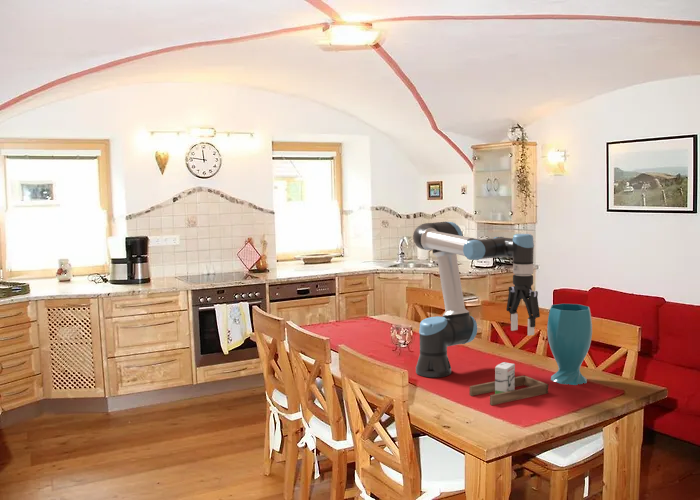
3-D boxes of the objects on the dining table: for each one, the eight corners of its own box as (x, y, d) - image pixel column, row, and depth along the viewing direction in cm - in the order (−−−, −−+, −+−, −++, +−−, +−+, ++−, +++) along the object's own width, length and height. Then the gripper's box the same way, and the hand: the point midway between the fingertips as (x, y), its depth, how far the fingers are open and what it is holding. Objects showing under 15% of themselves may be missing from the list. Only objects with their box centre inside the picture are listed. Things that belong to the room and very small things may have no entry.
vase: (567, 388, 260) (568, 313, 256) (537, 376, 275) (538, 305, 272) (600, 382, 267) (602, 308, 263) (570, 370, 282) (571, 301, 279)
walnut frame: (469, 395, 254) (469, 386, 254) (524, 383, 267) (524, 375, 266) (491, 405, 242) (491, 396, 242) (548, 393, 255) (548, 384, 254)
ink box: (506, 399, 249) (506, 368, 247) (494, 397, 252) (494, 366, 250) (515, 393, 256) (515, 363, 254) (502, 390, 259) (503, 361, 257)
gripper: (496, 271, 260) (496, 328, 263) (535, 279, 241) (534, 339, 244) (511, 270, 263) (511, 326, 266) (550, 277, 244) (549, 337, 247)
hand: (522, 332), depth 255 cm, fingers open, 9 cm apart
